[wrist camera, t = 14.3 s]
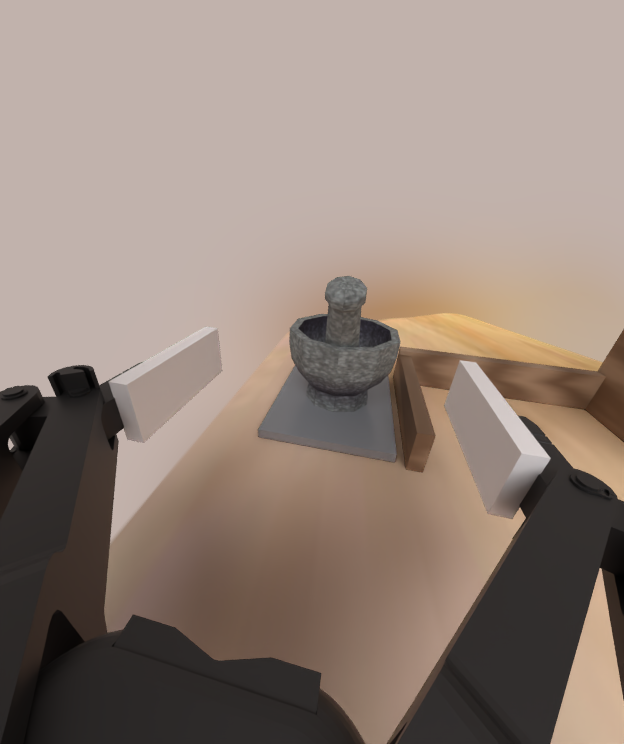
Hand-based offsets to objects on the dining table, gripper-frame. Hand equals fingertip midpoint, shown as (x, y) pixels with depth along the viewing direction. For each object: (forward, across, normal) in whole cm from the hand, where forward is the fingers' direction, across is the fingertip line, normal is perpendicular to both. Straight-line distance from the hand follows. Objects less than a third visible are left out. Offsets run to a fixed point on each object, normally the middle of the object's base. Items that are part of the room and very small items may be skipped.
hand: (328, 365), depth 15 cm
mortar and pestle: (+9, 0, -8) cm, 13 cm away
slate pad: (+10, 0, -9) cm, 13 cm away
